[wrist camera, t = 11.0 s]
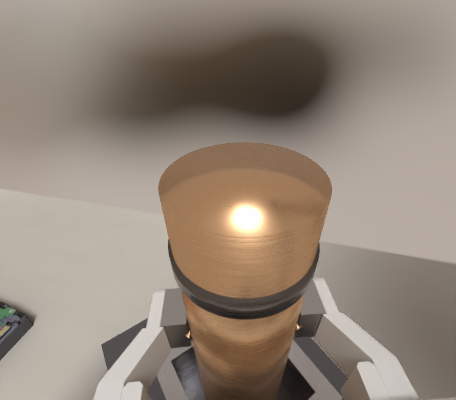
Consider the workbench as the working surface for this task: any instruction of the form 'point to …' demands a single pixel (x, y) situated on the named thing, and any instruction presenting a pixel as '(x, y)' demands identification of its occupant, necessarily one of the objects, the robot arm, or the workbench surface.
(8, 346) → the disk drive
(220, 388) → the thermos bottle
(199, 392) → the dark grey piece
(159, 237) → the workbench surface
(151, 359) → the robot arm
